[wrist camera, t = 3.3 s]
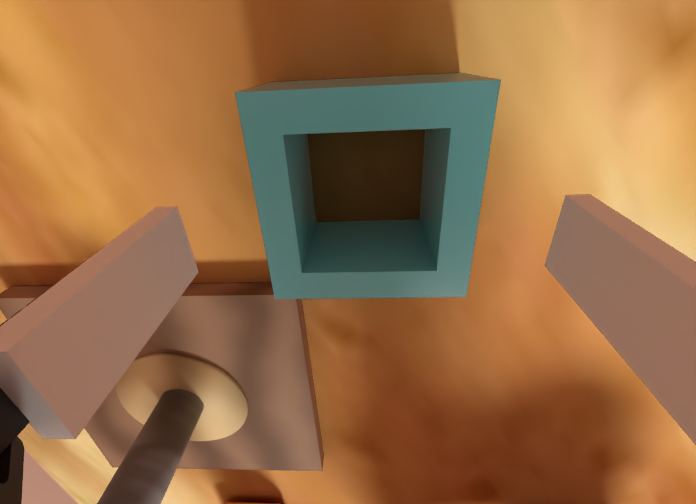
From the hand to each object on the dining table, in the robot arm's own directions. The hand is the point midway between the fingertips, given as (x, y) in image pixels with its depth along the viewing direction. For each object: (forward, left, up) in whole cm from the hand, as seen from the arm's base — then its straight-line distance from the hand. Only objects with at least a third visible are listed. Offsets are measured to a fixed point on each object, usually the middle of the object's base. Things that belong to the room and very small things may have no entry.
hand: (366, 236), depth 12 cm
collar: (0, 0, -9) cm, 9 cm away
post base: (+16, +19, -9) cm, 27 cm away
